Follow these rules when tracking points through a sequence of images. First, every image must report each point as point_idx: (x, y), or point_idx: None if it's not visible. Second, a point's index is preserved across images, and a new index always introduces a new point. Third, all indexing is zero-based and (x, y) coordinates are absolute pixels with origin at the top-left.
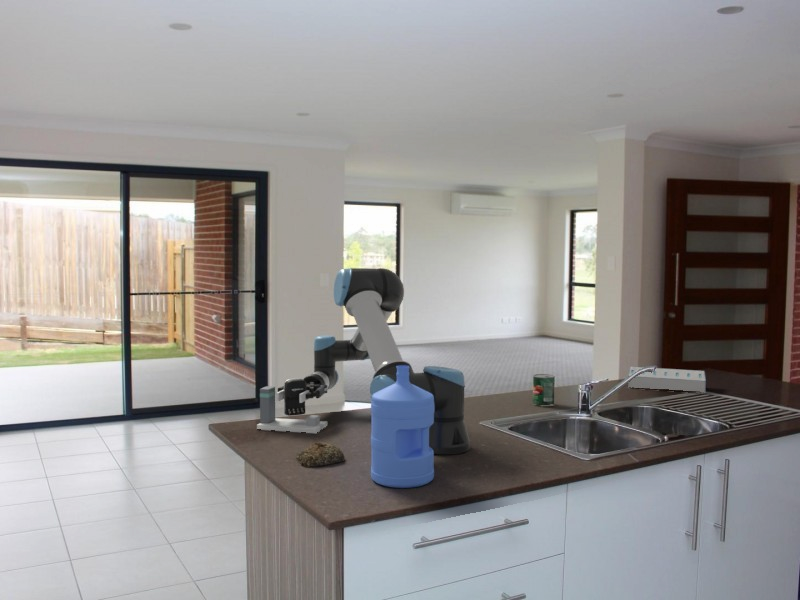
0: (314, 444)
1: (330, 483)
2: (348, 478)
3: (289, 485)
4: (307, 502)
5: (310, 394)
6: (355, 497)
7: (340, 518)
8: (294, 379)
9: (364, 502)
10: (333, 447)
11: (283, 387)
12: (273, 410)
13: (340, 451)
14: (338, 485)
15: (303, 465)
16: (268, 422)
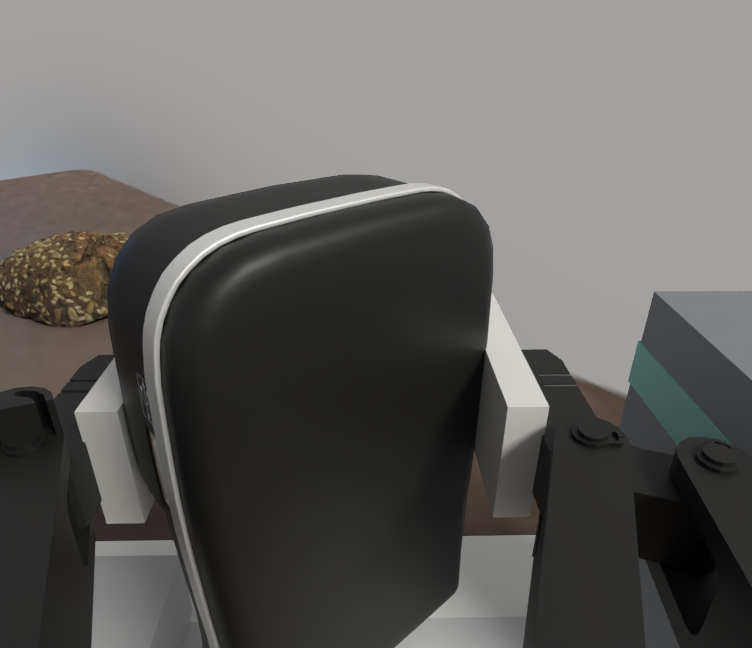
0: (102, 246)
1: (72, 217)
2: (19, 232)
3: (171, 207)
4: (126, 185)
5: (68, 395)
6: (26, 197)
7: (69, 171)
8: (327, 195)
9: (12, 191)
10: (28, 245)
11: (717, 528)
12: (648, 630)
13: (3, 262)
14: (54, 215)
15: None
16: None
